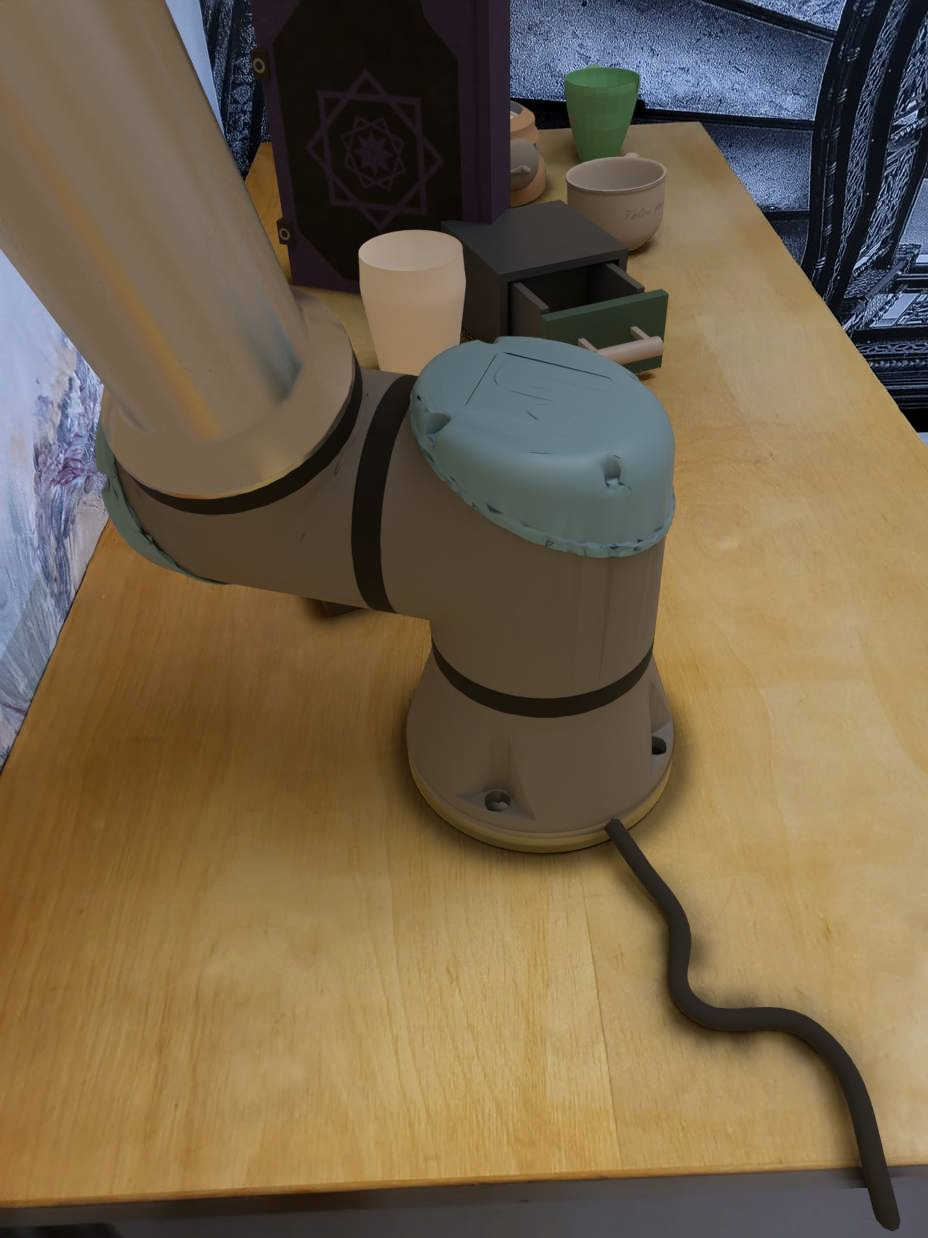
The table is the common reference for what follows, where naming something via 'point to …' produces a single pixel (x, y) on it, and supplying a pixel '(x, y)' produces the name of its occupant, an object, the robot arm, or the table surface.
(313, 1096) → the table surface
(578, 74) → the green tumbler
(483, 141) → the book
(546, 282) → the drawer
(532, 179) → the alarm clock
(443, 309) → the cup
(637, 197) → the teacup
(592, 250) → the cabinet
